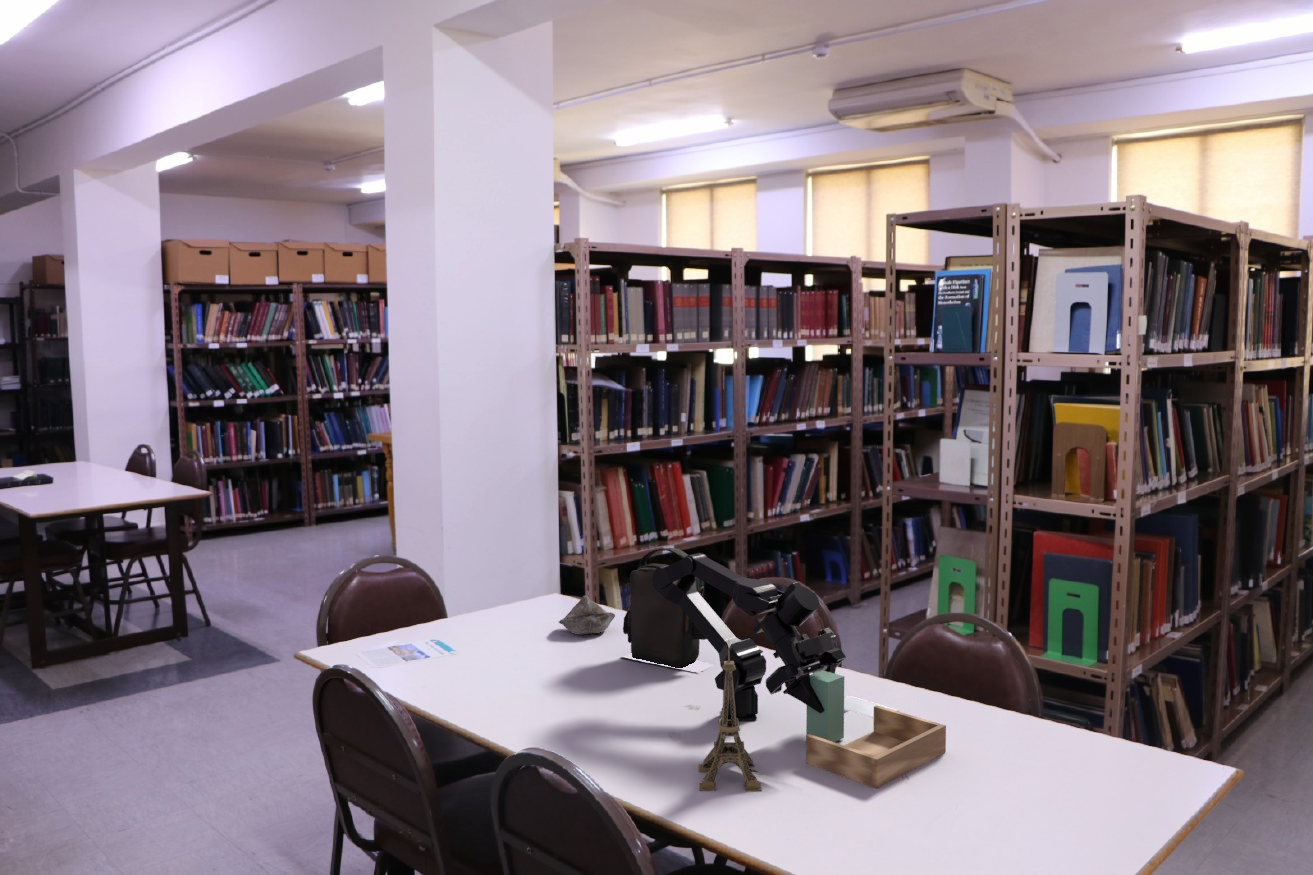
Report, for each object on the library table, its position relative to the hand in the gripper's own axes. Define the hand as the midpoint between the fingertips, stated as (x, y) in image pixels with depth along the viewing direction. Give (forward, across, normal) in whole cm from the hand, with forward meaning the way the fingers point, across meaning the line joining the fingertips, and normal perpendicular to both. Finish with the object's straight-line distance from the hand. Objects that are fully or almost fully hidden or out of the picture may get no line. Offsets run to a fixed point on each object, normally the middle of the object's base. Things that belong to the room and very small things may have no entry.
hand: (831, 708), depth 188 cm
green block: (+3, 0, +5) cm, 6 cm away
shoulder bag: (-37, +15, +48) cm, 63 cm away
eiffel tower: (+3, -24, +8) cm, 25 cm away
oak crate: (+12, 0, -2) cm, 13 cm away
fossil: (-61, +18, +73) cm, 96 cm away
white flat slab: (+1, +20, +11) cm, 23 cm away
